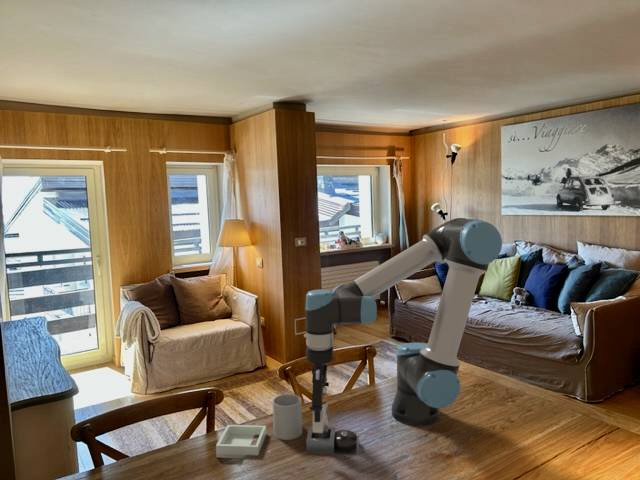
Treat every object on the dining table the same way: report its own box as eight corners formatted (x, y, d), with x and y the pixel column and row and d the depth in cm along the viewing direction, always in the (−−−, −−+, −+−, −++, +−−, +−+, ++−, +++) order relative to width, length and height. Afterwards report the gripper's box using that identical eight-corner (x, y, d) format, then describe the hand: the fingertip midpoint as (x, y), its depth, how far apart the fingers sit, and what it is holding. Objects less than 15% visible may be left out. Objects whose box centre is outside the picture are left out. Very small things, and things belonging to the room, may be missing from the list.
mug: (301, 442, 138) (300, 406, 137) (272, 443, 138) (270, 406, 137) (303, 422, 150) (302, 389, 149) (276, 423, 150) (275, 389, 149)
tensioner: (358, 438, 140) (358, 424, 139) (358, 458, 130) (358, 442, 129) (310, 437, 141) (309, 423, 140) (306, 456, 131) (305, 441, 131)
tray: (266, 436, 142) (266, 425, 141) (258, 458, 130) (257, 446, 130) (228, 435, 143) (227, 424, 142) (216, 457, 131) (215, 445, 131)
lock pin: (330, 439, 138) (329, 392, 136) (329, 448, 133) (328, 399, 132) (314, 439, 138) (313, 392, 136) (312, 447, 133) (311, 399, 132)
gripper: (310, 332, 145) (311, 400, 147) (300, 362, 120) (301, 442, 123) (335, 333, 145) (335, 400, 147) (330, 362, 120) (330, 443, 122)
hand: (319, 420), depth 135 cm, fingers open, 13 cm apart
